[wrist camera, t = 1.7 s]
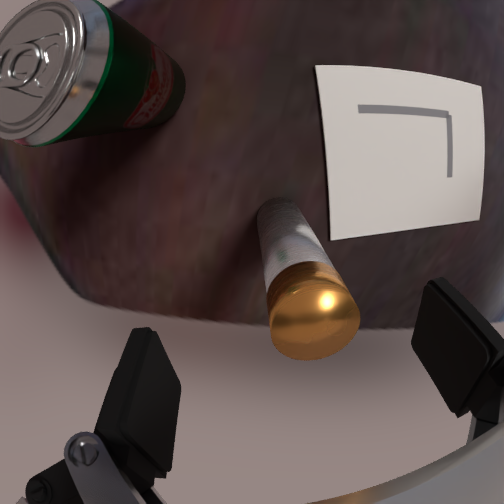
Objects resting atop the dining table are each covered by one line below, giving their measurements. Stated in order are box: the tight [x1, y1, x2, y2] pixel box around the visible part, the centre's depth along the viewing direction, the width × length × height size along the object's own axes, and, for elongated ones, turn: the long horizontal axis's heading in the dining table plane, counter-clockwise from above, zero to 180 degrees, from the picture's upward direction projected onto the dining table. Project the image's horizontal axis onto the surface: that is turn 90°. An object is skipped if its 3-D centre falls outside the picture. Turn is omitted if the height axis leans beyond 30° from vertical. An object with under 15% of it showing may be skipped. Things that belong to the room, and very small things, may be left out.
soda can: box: [0, 0, 186, 147], centre depth 9 cm, size 5×5×12 cm
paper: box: [315, 65, 484, 240], centre depth 17 cm, size 15×12×1 cm
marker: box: [257, 197, 360, 360], centre depth 14 cm, size 3×3×11 cm
